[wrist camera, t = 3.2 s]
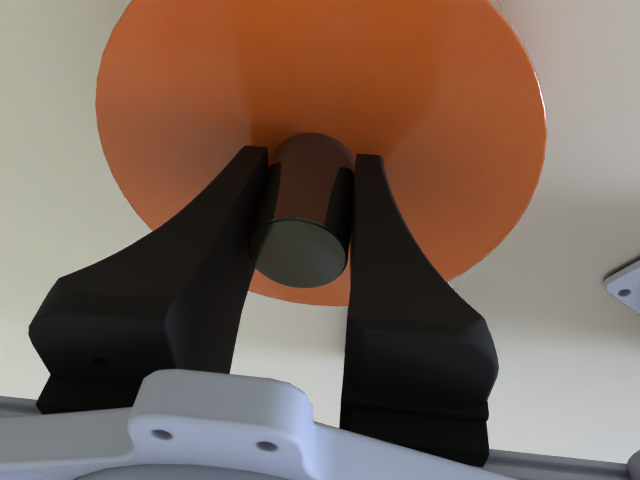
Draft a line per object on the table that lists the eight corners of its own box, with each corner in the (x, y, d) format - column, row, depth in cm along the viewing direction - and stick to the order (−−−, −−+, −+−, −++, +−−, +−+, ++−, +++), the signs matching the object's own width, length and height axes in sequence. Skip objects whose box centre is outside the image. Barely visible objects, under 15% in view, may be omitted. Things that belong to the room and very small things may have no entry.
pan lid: (611, -77, 12) (686, 13, 9) (486, 297, 20) (500, 411, 17) (49, -100, 13) (-71, -26, 9) (157, 268, 21) (112, 371, 18)
